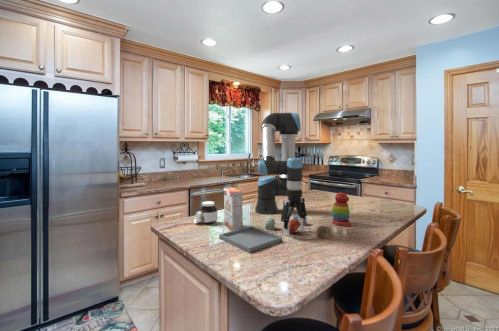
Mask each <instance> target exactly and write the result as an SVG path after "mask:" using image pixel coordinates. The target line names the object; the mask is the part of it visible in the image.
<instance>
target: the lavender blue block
mask: <svg viewBox="0 0 499 331" xmlns="http://www.w3.org/2000/svg"><path fill="white" fill-rule="evenodd" d="M305 217H306V218H304V223H303V226H305V225H307V216H305ZM298 218H300V217H299V214H298V215H294V216H293V219H296V220H298Z"/></svg>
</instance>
